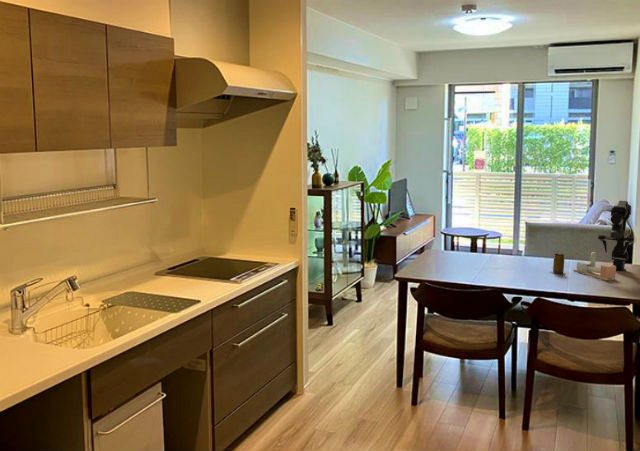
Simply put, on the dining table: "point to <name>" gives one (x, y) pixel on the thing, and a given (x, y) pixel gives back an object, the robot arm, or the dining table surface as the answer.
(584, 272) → the base rail
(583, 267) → the sleeve
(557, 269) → the condiment
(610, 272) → the socket
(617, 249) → the robot arm
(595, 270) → the beige cradle bracket
